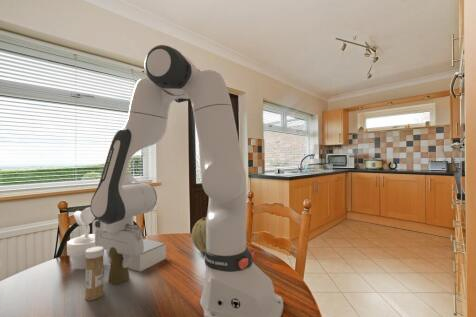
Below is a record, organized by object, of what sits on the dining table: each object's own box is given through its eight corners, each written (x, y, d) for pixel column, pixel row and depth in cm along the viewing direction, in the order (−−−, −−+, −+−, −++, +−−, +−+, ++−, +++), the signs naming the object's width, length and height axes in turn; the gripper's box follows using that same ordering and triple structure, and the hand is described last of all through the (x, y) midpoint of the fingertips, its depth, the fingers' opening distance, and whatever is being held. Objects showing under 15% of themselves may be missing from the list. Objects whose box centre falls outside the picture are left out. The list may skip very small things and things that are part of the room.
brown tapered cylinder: (120, 284, 69) (120, 248, 70) (103, 282, 71) (103, 247, 71) (133, 275, 75) (133, 242, 76) (117, 273, 77) (117, 241, 77)
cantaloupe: (233, 249, 98) (232, 215, 98) (210, 261, 86) (210, 222, 86) (208, 242, 106) (208, 210, 107) (184, 252, 94) (184, 217, 95)
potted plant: (110, 264, 84) (110, 197, 84) (73, 277, 75) (73, 201, 75) (95, 256, 91) (95, 194, 92) (60, 266, 82) (61, 198, 82)
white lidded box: (165, 258, 89) (165, 243, 89) (139, 271, 78) (139, 254, 78) (141, 252, 95) (141, 238, 95) (114, 263, 85) (114, 247, 85)
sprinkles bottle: (104, 297, 63) (104, 249, 64) (85, 303, 61) (85, 253, 61) (103, 289, 67) (103, 244, 67) (84, 295, 64) (84, 248, 65)
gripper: (148, 223, 71) (149, 267, 71) (109, 217, 81) (109, 255, 81) (131, 228, 66) (131, 276, 65) (90, 221, 75) (90, 262, 75)
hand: (118, 265), depth 73 cm, fingers closed on brown tapered cylinder, 5 cm apart
